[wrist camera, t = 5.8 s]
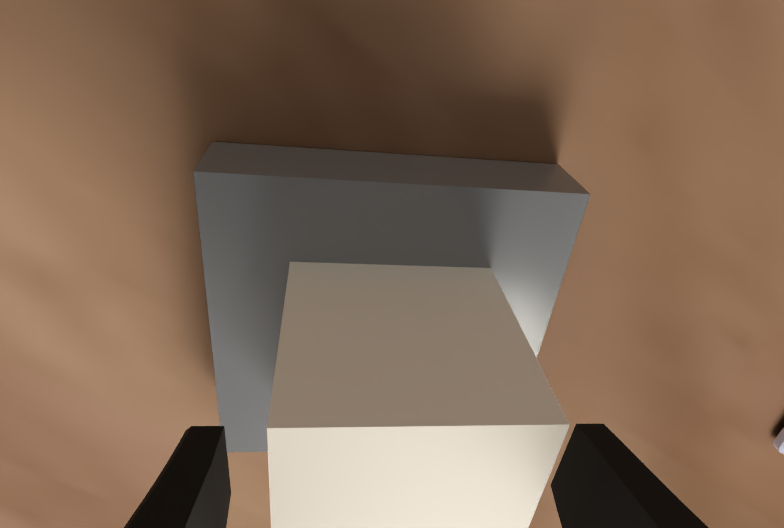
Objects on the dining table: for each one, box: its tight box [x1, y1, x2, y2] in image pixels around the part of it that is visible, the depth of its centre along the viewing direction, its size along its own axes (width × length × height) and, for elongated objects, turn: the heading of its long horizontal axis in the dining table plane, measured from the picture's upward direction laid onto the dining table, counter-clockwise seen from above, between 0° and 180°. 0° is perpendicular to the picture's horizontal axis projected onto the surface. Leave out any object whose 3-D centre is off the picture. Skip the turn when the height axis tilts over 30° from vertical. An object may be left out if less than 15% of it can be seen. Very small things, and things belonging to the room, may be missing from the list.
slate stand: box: [193, 142, 590, 452], centre depth 14 cm, size 9×9×2 cm
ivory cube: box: [267, 262, 570, 528], centre depth 12 cm, size 5×5×5 cm
